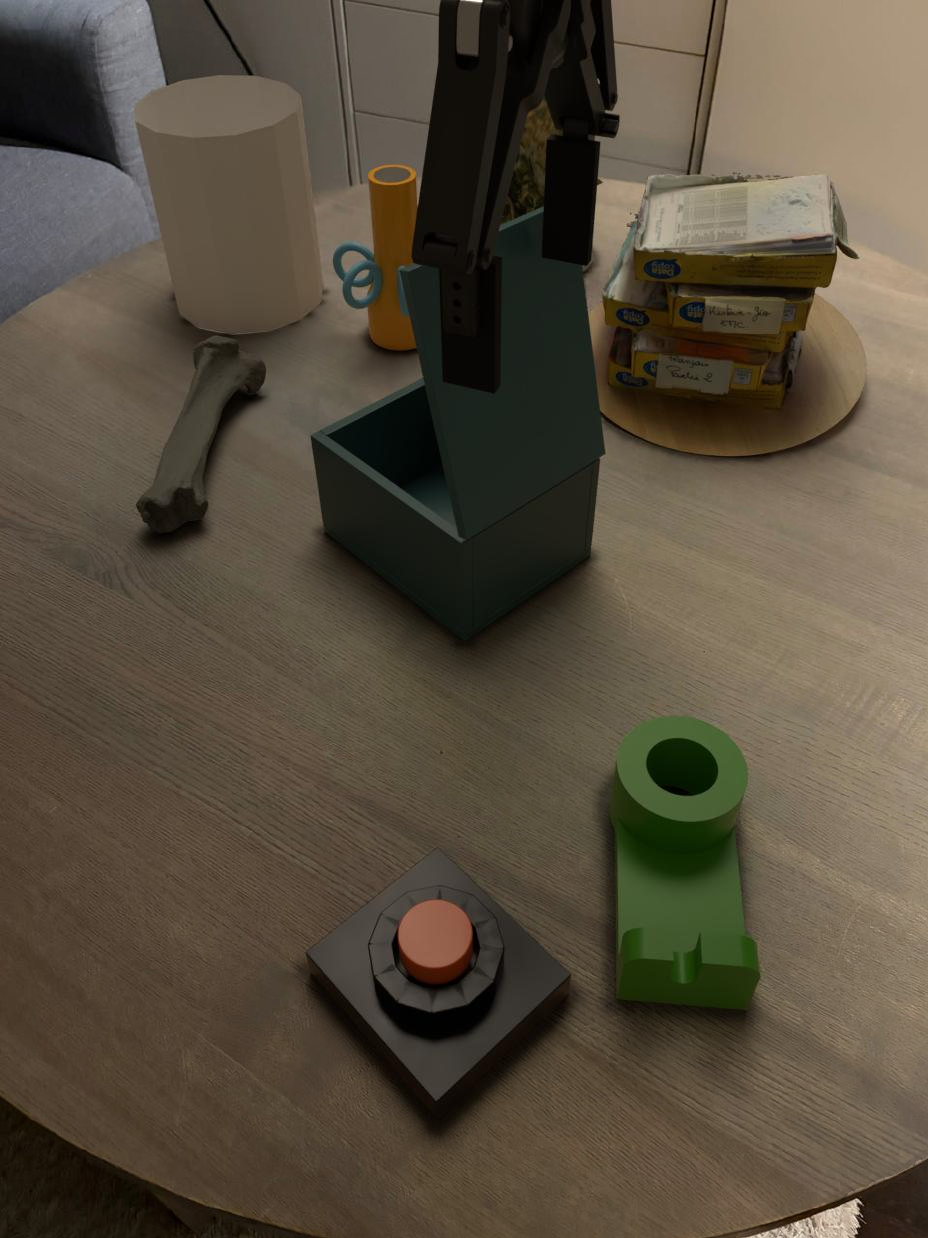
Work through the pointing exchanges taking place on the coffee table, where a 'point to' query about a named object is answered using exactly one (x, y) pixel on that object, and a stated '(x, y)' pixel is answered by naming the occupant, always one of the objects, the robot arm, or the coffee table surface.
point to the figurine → (531, 167)
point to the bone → (197, 433)
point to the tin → (441, 517)
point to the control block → (443, 1013)
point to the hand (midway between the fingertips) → (522, 317)
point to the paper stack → (728, 316)
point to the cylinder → (385, 257)
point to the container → (233, 200)
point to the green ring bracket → (680, 867)
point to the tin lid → (513, 383)
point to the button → (435, 941)
